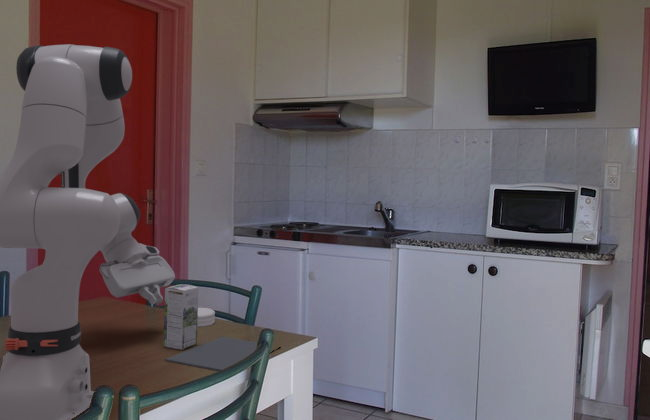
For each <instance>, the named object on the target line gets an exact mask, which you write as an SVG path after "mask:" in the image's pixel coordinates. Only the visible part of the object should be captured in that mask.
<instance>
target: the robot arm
mask: <svg viewBox="0 0 650 420" xmlns="http://www.w3.org/2000/svg"><path fill="white" fill-rule="evenodd" d="M15 67H16V76H17V78H16V79H17V81H18V83H19V86H20V88H21V90H23V91H24V94H23V99H22V100H23V101H22V104H21V105H22V107H21V117H20V123H19V128H18V129H19V130H18V135H17V141H16V145H15V149H14V152H13V154H12V156H11V159H10V161H9V162H8V163H7V165H6V167H5V168H4V170H3V171H2V172H1V174H0V248H3V249H43V250H45V256H44V260H43V262H42V264H39V265H38V266H35V267H34V268H32V269H29V270H28V271H25V272H24V273H21V275H20V276H18V277H17V278H16V279H15V280H14V282H13V284H12V285H11V289H10V322H11V324H10V326H9V328H8V333H7V336H6V339H5V342H4V346H5V347H4V349H5V351H7V352H6V353H5V354H4V355H3V356H2V363H1V366H0V420H71V419H72V418H74V417H76V416H77V415H79V414H80V413H82V412H83V411H85V410H86V409H87V408H89V406H90V403H91V399H92V396H93V393H94V392H95V391H93V390H92V389H91V388H92V387H91V368H90V367H91V366H90V355H89V354H88V353H87V352H86V351H85V350H84V349H83V348H82V347H81V344H80V343H81V342H82V341H81V340H82V337H81V335H82V329H81V323H80V321H79V297H80V286H81V281H82V278H83V274H84V272H85V270H86V268H87V266H88V265H89V263H90V261H91V260H92V258H94V257H95V255H96V254H97V253H98V252H99V251H100V252H101V253H102V256H103V258H104V260H105V262H102V263H101V264H100V266H99V269H98V270H99V273H100V274H101V276H102V279H103V281H104V283H105V285H106V288H107V289H108V291H109V292H110V294H111V295H112V296H113V297H115V298H118V299H119V298H122V297H125V296H130V295H131V296H132V295H135V294H139V295H140V297H142V298H144V299H145V300H147V301H148V302H149V304H150V305H152V306H153V305H157V304H161V303H162V302H163V301H164V297H163V295H162V294H161V291H160V290H161V289H160V288H163V287H165V288H166V287H169V286H170V285H172V282H173V281H174V280H175V279H176V274H175V271H174V270H173V269H172V267H171V266H170V264H169V263H168V262H167V260H166V259H165V258H164V257H162V256H161V255H160V250H159V249H158V248H157V247H156V246H151V245H146V244H143V243H140V242H138V241H137V240H136V239H135V238H134V236H132V232H134V231H135V230H136V228H137V225H138V223H139V221H140V218H141V211H140V208H139V206H138V204H137V203H136V202H135V201H134V198H132V197H130V196H129V195H127V194H125V193H123V192H118V193H114V194H111V195H110V194H109V193H107V192H103V191H98V190H94V189H89V188H86V181H87V178H88V176H89V174H90V172H92V170H93V169H94V168H95V167H96V166H97V165H98V164H99V163H101V162H102V161H103V160H104V159H106V158H107V157H109V156H110V155H111V154H113V153H114V152H115V151H116V150H117V149H118V148H119V146H120V145H121V144H122V142H123V140H124V137H125V133H126V132H125V129H126V128H125V127H126V125H125V118H124V113H123V108H122V107H123V105H122V101H121V99H122V98H124V97H125V96H126V95H127V94H128V93H129V92H130V91H131V90H130V89H131V86H132V81H133V69H132V66H131V64H130V60H129V58H128V55H127V54H126V53H125V52H124V51H123V50H121V49H119V48H116V47H111V46H104V47H101V46H99V47H98V46H92V45H78V44H77V45H76V44H69V43H67V44H54V45H53V44H52V45H46V46H44V45H42V44H38V45H33V46H28V47H26V48H24V49H23V51H22V52H20V54H19V55H18V57H17V60H16V66H15ZM58 175H60V180H61V181H60V184H61V186H60V187H50V184H51V182H52V180H54V179H55V178H56V177H57V176H58Z"/></svg>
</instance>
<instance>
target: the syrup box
mask: <svg viewBox="0 0 650 420" xmlns="http://www.w3.org/2000/svg"><path fill="white" fill-rule="evenodd" d="M198 308H199V287H198V286H195V285H192V284H184V283H183V284H176V285H173V286H166V287H165V289H164V314H163V315H164V319H163V324H164V325H163V347H164V348H170V349H175V350H181V351H183V350H186V349H188V348H190V347H191V348H192V347H193V346H196V345H197V343H198V327H197V320H198Z"/></svg>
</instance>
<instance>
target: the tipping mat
mask: <svg viewBox="0 0 650 420" xmlns="http://www.w3.org/2000/svg"><path fill="white" fill-rule="evenodd" d="M257 342H258V341H253V340H245V339H239V338H233V337H228V336H221V337H218V338H215V339H213V340H209V341H207V342H205V343H203V344H200V345H197V346H195V347H191V348H190V349H188V350H185V351H182V352H180V353H176V354H175V355H173V356H169V357H167V358H165V360H164V361H165V362H169V363H175V364H181V365H185V366H189V367H190V366H192V367H195V368H201V369H205V370H212V371H216V372H221V371H220V370H222V369H224V368H226V367H228V366H231V365H233V364H234V363H236V362H238V361H240V360H242V359H243V358H245V357H247V356H248V355H250V354H251V353H253V352H254V350H255V349H256V347H257Z"/></svg>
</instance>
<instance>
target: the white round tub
mask: <svg viewBox="0 0 650 420" xmlns="http://www.w3.org/2000/svg"><path fill="white" fill-rule="evenodd" d="M215 314H216V312H215V310H213V309H212V308H209V307H198V320H197V328H202V327H204V328H205V327H209V326H212V325H214V324H215V322H216V317H215ZM213 323H214V324H213Z"/></svg>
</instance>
